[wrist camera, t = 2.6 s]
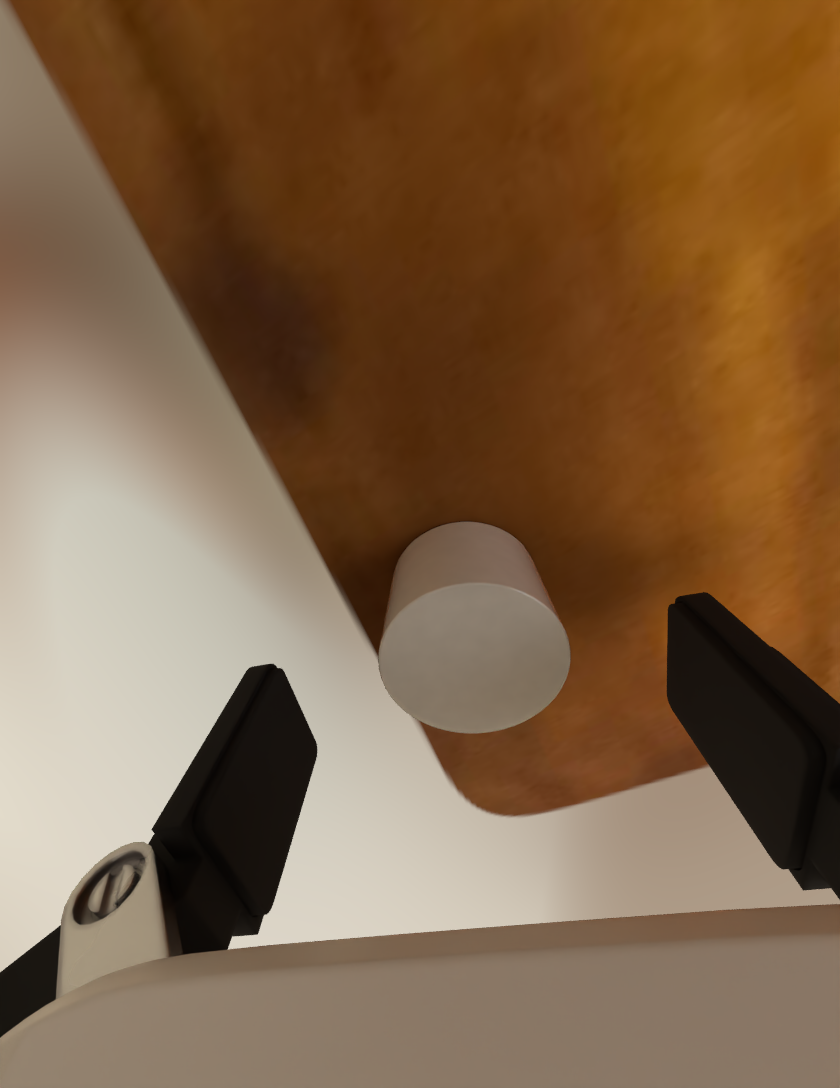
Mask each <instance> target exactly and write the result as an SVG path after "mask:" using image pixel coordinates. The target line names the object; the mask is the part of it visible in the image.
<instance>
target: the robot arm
mask: <svg viewBox="0 0 840 1088" xmlns="http://www.w3.org/2000/svg"><path fill="white" fill-rule="evenodd" d="M667 697H668V701H669V704H670V706H671V708H672V710H673V712H674V713H675V715H676V716H677V718H678V719H679V721H680V722H681V724H682V725H683V727H684V728H685V730H686V731H687V733H688V734H689V736H690V737H691V739H692V740H693V742H694V743H695V745H696V746H697V748H698V749H699V751H700V752H701V754H702V755H703V757H704V758H705V760H706V761H707V763H708V764H709V766H710V767H711V769H712V770H713V772H714V773H715V775H716V776H717V777H718V779H719V781H720V782H721V784H722V785H723V787H724V788H725V790H726V791H727V792H728V794H729V795H730V797H731V799H732V800H733V802H734V803H735V804H736V806H737V808H738V809H739V811H740V812H741V814H742V815H743V816H744V818H745V820H746V821H747V823H748V824H749V826H750V827H751V829H752V830H753V831H754V833H755V834H756V836H757V838H758V839H759V840H760V842H761V843H762V845H763V847H764V848H765V850H766V851H767V853H768V854H769V856H770V857H771V858H772V860H773V861H774V862H775V863H776V865H777V866H778V867H780V868H781V869H789V870H790V872H791V873H792V875H793V876H794V878H795V879H796V881H797V882H798V884H799V885H800V886H801V888H802V889H803V890H812V889H825V888H832V890H833V891H834V892H835V894H836V895H837V896H838V898H839V899H840V704H839V703H838V702H837V701H836V700H835V699H833V698H832V697H831V696H830V695H829V694H828V693H826V692H825V691H824V690H823V689H822V688H821V687H819V686H818V685H817V684H816V683H815V682H814V681H813V680H811V679H810V678H809V677H808V676H807V675H806V674H804V673H803V672H802V671H801V670H800V669H799V668H797V667H796V666H795V665H794V664H793V663H792V662H791V661H789V660H788V659H787V658H786V657H785V656H784V655H782V654H781V653H780V652H779V651H777V650H776V649H774V648H773V647H770V646H769V645H767V644H766V643H765V642H764V641H763V640H762V639H761V638H759V637H758V636H757V635H756V634H755V633H754V632H753V631H751V630H750V629H749V628H748V627H747V626H746V625H745V624H743V623H742V622H741V621H740V620H739V619H738V618H737V617H735V616H734V615H733V614H732V613H731V612H730V611H728V610H727V609H726V608H725V607H724V606H723V605H722V604H720V603H719V602H718V601H717V600H716V599H715V598H714V597H712V596H711V595H710V594H708V593H705V592H703V593H697V594H690V595H684V596H679V597H677V598H676V600H675V604H671V605H669V607H668V643H667ZM316 757H317V744H316V741H315V739H314V737H313V734H312V732H311V730H310V728H309V726H308V723H307V721H306V719H305V717H304V714H303V712H302V710H301V708H300V706H299V704H298V701H297V699H296V697H295V695H294V692H293V690H292V688H291V686H290V684H289V681H288V679H287V677H286V675H285V672H284V671H283V670H282V669H281V668H277V667H276V666H275V665H274V664H266V665H260V666H254V667H251V668H249V669H248V670H247V671H246V673H245V674H244V676H243V678H242V679H241V681H240V683H239V685H238V686H237V688H236V689H235V691H234V693H233V695H232V696H231V698H230V699H229V701H228V703H227V705H226V706H225V708H224V710H223V711H222V713H221V715H220V716H219V718H218V719H217V721H216V723H215V725H214V726H213V728H212V730H211V731H210V733H209V735H208V736H207V738H206V740H205V741H204V743H203V745H202V746H201V748H200V750H199V751H198V753H197V755H196V756H195V758H194V760H193V761H192V763H191V765H190V766H189V768H188V770H187V771H186V773H185V775H184V776H183V778H182V780H181V781H180V783H179V785H178V786H177V788H176V790H175V792H174V793H173V795H172V797H171V798H170V800H169V801H168V803H167V805H166V806H165V808H164V810H163V812H162V813H161V815H160V816H159V818H158V820H157V822H156V823H155V825H154V826H153V828H152V831H153V832H154V833H155V834H154V835H153V837H152V839H151V841H150V842H149V844H146V843H144V842H133V843H130V844H128V845H125V846H122V847H120V848H118V849H117V850H115V851H113V852H111V853H110V854H108V855H107V856H106V857H104V858H103V859H102V860H101V861H99V862H98V863H97V864H95V866H94V867H93V868H92V869H91V870H90V871H89V872H88V873H87V874H86V875H85V876H84V877H83V878H82V879H81V881H80V882H79V884H78V885H77V886H76V888H75V889H74V890H73V892H72V893H71V895H70V897H69V899H68V901H67V903H66V905H65V907H64V911H63V915H62V919H61V925H60V926H59V927H58V928H57V929H55V930H54V931H53V932H52V933H50V934H49V935H48V936H46V937H45V938H44V939H42V940H41V941H40V942H39V943H37V944H36V945H35V946H33V947H32V948H31V949H30V950H28V951H27V952H26V953H25V954H23V955H22V956H21V957H19V958H18V959H17V960H16V961H14V962H13V963H12V964H11V965H9V966H8V967H7V968H5V969H4V970H3V971H2V972H0V1088H840V904H834V905H813V906H796V907H795V906H794V907H774V908H755V909H737V910H719V911H705V912H691V913H677V914H664V915H649V916H635V917H623V918H607V919H594V920H579V921H566V922H553V923H540V924H527V925H514V926H501V927H487V928H475V929H462V930H450V931H436V932H424V933H412V934H399V935H387V936H375V937H362V938H350V939H338V940H326V941H315V942H302V943H290V944H279V945H267V946H258V947H248V948H240V949H230V950H227V949H228V946H229V944H230V941H231V938H232V936H244V935H256V934H258V932H259V929H260V926H261V922H262V919H263V916H264V915H265V914H267V913H269V911H270V910H271V908H272V905H273V902H274V899H275V896H276V893H277V889H278V886H279V882H280V879H281V876H282V872H283V869H284V866H285V862H286V859H287V855H288V852H289V849H290V845H291V842H292V839H293V835H294V832H295V828H296V825H297V822H298V818H299V815H300V812H301V808H302V805H303V801H304V798H305V795H306V791H307V788H308V784H309V781H310V777H311V774H312V771H313V768H314V764H315V761H316Z"/></svg>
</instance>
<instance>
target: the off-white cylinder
mask: <svg viewBox="0 0 840 1088" xmlns="http://www.w3.org/2000/svg"><path fill="white" fill-rule="evenodd" d="M570 660H571V654H570V644H569V639H568V637H567V634H566V631H565V629H564V626H563V624H562V622H561V620H560V618H559V616H558V613H557V611H556V609H555V607H554V605H553V603H552V600H551V598H550V596H549V594H548V592H547V590H546V587H545V585H544V583H543V581H542V579H541V576H540V574H539V572H538V570H537V568H536V566H535V563H534V561H533V559H532V557H531V556H530V554H529V552H528V551H527V550H526V548H525V547H524V546H523V545H522V544H521V543H520V542H519V541H518V540H517V539H516V538H515V537H513V536H512V535H510V534H509V533H507V532H505V531H504V530H502V529H500V528H497V527H494V526H492V525H488V524H484V523H478V522H456V523H449V524H445V525H442V526H439V527H436V528H434V529H431V530H429V531H427V532H426V533H424V534H422V535H421V536H419V537H418V538H417V539H415V540H414V541H413V542H412V543H411V544H410V545H409V546H408V547H407V548H406V549H405V551H404V552H403V553H402V555H401V556H400V558H399V560H398V562H397V564H396V567H395V569H394V573H393V578H392V583H391V588H390V594H389V599H388V604H387V610H386V615H385V620H384V626H383V631H382V637H381V642H380V647H379V657H378V662H379V670H380V674H381V678H382V681H383V683H384V685H385V688H386V689H387V691H388V693H389V694H390V696H391V697H392V698H393V700H394V701H395V702H396V703H397V704H398V705H399V706H400V707H401V708H402V709H403V710H404V711H405V712H407V713H408V714H410V715H411V716H412V717H414V718H416V719H417V720H419V721H421V722H423V723H425V724H428V725H430V726H432V727H436V728H439V729H442V730H447V731H452V732H459V733H486V732H493V731H498V730H502V729H506V728H509V727H512V726H515V725H517V724H520V723H522V722H524V721H526V720H528V719H530V718H531V717H533V716H535V715H536V714H538V713H539V712H540V711H542V710H543V709H544V708H545V707H546V706H548V705H549V704H550V702H551V701H552V700H553V699H554V698H555V697H556V695H557V694H558V693H559V691H560V690H561V688H562V686H563V684H564V682H565V680H566V677H567V674H568V671H569V666H570Z"/></svg>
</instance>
